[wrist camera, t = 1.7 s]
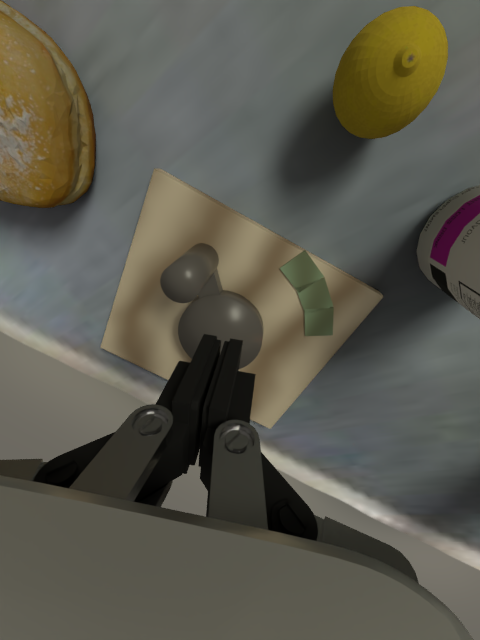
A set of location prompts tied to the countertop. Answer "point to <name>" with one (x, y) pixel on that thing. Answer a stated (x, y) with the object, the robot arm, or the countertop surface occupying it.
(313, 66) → the countertop surface
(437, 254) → the supplement can
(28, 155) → the bread
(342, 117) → the lemon
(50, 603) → the robot arm
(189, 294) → the dark grey handled piece
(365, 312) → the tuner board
